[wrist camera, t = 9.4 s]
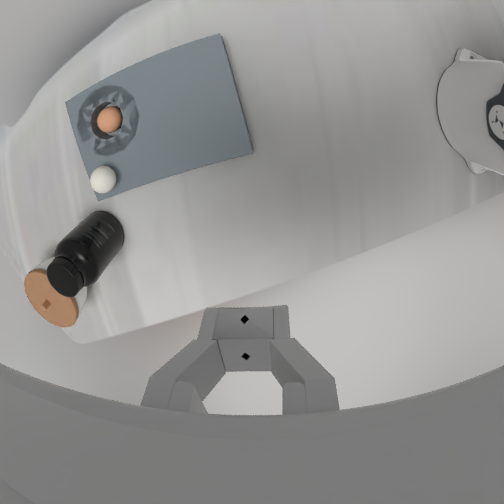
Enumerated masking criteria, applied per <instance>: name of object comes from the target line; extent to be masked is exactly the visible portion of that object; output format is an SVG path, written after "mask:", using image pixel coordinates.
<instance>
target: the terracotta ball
mask: <svg viewBox="0 0 504 504" xmlns="http://www.w3.org/2000/svg"><path fill="white" fill-rule="evenodd" d="M122 121H123V116H122V112H121V111H120V110H119V109H118V108H116V107H107V108H105V109H103V110H102V111H101V112H100V114H99V116H98V119H97V124H98V127H99V128H100V129H101V130H102V131H103V132H107V133H110V132H114V131H116V130H117V129H118V128H119V127H120V126H121V124H122Z"/></svg>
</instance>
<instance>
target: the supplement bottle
mask: <svg viewBox="0 0 504 504" xmlns="http://www.w3.org/2000/svg"><path fill="white" fill-rule="evenodd" d="M123 239H124V237H123V231H122V228H121V226H120V224H119V223H118V221H117V220H116V219H115V218H114V217H113V216H111V215H110V214H108V213H105V212H94V213H92V214H90V215H89V216H88V217H87V218H85V219H84V220H83V221H82V222H81V223H80V224H79V225H77V226H76V227H75V228H74V229H73V230H72V231H71V232H70V233H69V234H68V235H67V236H66V237H64V238H63V239H62V240H61V241H60V243H59V244H58V245H57V247H56V251H55V258H54V259H53V261H52V262H51V263H50V264H49V266H48V268H47V278H48V280H49V282H50V284H51V286H52V287H53V288H54V289H55V290H56V291H57V292H58V293H60V294H61V295H63V296H66V297H73V296H76V295H77V294H78V292H79V291H80V290H81V289H82V288H83V287H87V286H90V285H92V284H94V283H95V282H96V281H97V280H98V278H99V277H100V276H101V274H102V273H103V271H104V270H105V269H106V267H107V266H108V265H109V263H110V262H111V260H112V259H113V258H114V256H115V255H116V254H117V252H118V251H119V250H120V248H121V246H122V244H123Z"/></svg>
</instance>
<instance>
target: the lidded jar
mask: <svg viewBox="0 0 504 504" xmlns="http://www.w3.org/2000/svg"><path fill="white" fill-rule="evenodd" d="M54 258H55V257H52V258H48V259H46V260H44V261H42V262H41V263H40V264H38V265H37V266H36V267H35V268H34V269H33V270H31V271H30V272H29V273H28V274H27V276H26V278H25V283H24V286H25V291H26V294H27V297H28V299H29V301H30V303H31V304H32V306H33V307H34V309H35V310H36V311H37V312H38V313H39V314H40V315H41V316H42V317H43V318H45V319H46V320H47V321H49V322H50V323H52V324H54V325H57V326H60V327H70V326H72V325H73V324H74V323H75V322H76V320H77V318H78V316H79V314H80V312H81V311H82V309H83V307H84V304H85V301H86V297H87V287H83V288H82V289H81V290H80V291H79V292H78V294H77V295H76V296H73V297H66V296H63V295H61V294H60V293H58V292H57V291H56V290H55V289H54V288H53V287H52V286H51V284H50V282H49V280H48V278H47V268H48V266H49V264H50V263H51V262H52V261H53V259H54Z"/></svg>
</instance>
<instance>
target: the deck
mask: <svg viewBox="0 0 504 504" xmlns="http://www.w3.org/2000/svg"><path fill="white" fill-rule="evenodd" d="M112 102H114V103H115V104H116V105H117V106H118V107H119V108H120V109H121V112H122V116H123V121H122V127H121V129H120V130H119V132H118V133H117V134H116V136H109V135H108V134H107V133H106V132H103V131H102V130H101V129H100V128H99V127H98V124H97V119H98V116H99V114H100V112H101V111H102V110H103V109H104V108H105V107H106V106H107V105H108V104H110V103H112ZM65 103H66V107H67V111H68V115H69V118H70V122H71V125H72V129H73V132H74V135H75V138H76V142H77V145H78V148H79V151H80V154H81V157H82V160H83V162H84V165H85V168H86V171H87V174H88V176H89V179H90V178H91V175H92V173H93V171H94V170H95V169H96V168H98V167H101V166H108V167H110V168H111V169H113V171H114V172H115V174H116V183H115V186H114V187H113V189H112V190H110V191H109V192H107V193H98V192H96V191H94V192H95V195H96V197H97V200H98V201H101V200H103V199H106V198H108V197H111V196H114V195H116V194H119V193H122V192H124V191H127V190H130V189H133V188H136V187H138V186H141V185H144V184H147V183H150V182H153V181H156V180H159V179H162V178H165V177H169V176H172V175H175V174H178V173H182V172H185V171H188V170H192V169H195V168H199V167H202V166H206V165H209V164H213V163H217V162H220V161H224V160H228V159H232V158H236V157H240V156H244V155H249V154H253V148H252V144H251V140H250V136H249V132H248V129H247V125H246V121H245V117H244V113H243V110H242V106H241V102H240V99H239V95H238V91H237V88H236V84H235V80H234V77H233V73H232V70H231V66H230V63H229V59H228V56H227V52H226V49H225V45H224V42H223V39H222V37H221V35H220V34H217V35H213V36H209V37H206V38H203V39H199V40H196V41H193V42H190V43H187V44H184V45H181V46H178V47H175V48H173V49H170V50H167V51H165V52H162V53H160V54H157V55H155V56H152V57H150V58H147V59H145V60H143V61H141V62H138V63H136V64H134V65H132V66H130V67H127V68H125V69H123V70H121V71H119V72H117V73H115V74H113V75H111V76H109V77H107V78H106V79H104V80H102V81H100V82H98V83H96V84H95V85H93V86H91V87H89V88H88V89H86V90H84V91H83V92H81V93H79V94H78V95H76V96H74V97H73V98H71V99H70V100H68V101H67V102H65Z"/></svg>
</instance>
